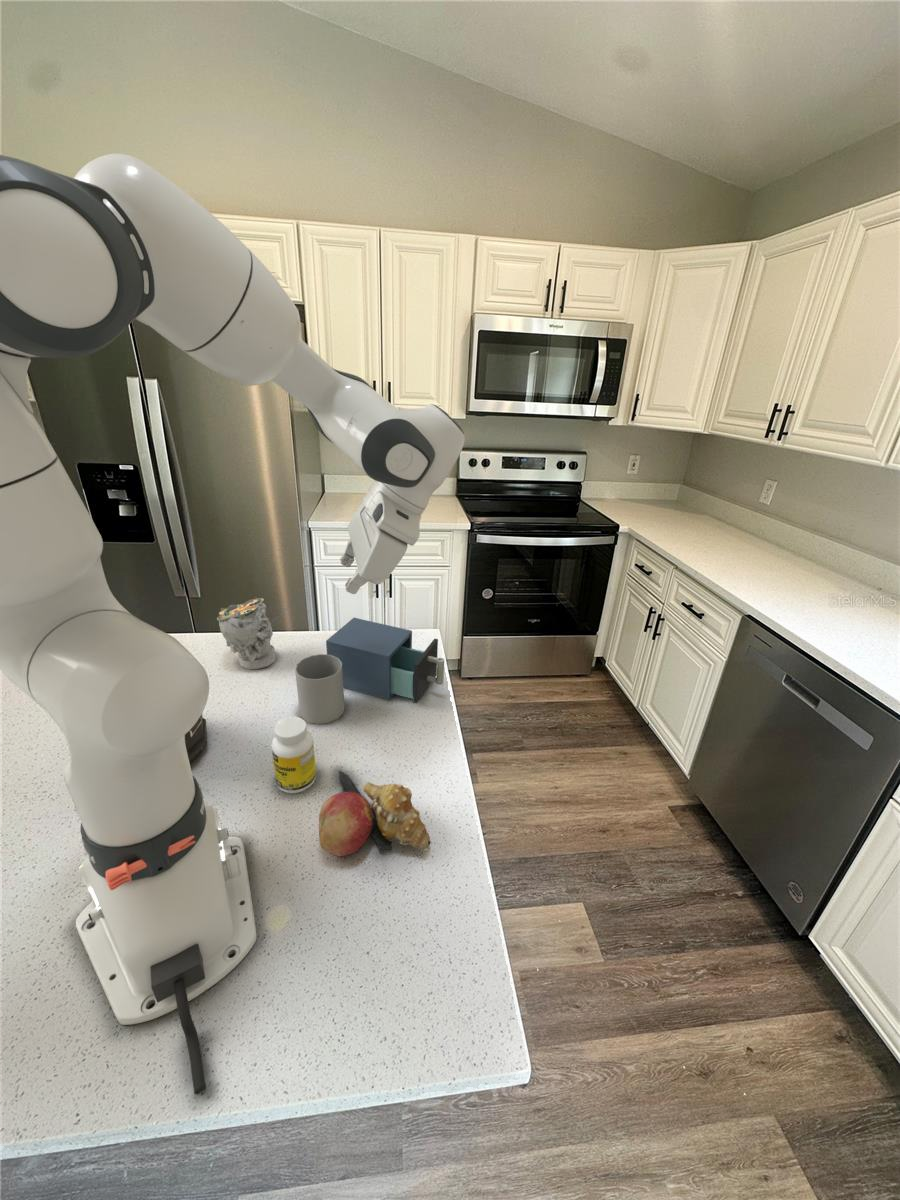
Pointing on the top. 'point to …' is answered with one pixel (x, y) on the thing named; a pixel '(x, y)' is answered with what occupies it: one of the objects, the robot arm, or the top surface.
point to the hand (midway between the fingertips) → (346, 576)
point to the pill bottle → (293, 755)
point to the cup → (320, 688)
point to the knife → (375, 831)
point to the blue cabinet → (367, 655)
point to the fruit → (345, 823)
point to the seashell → (397, 814)
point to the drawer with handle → (415, 671)
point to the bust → (248, 633)
